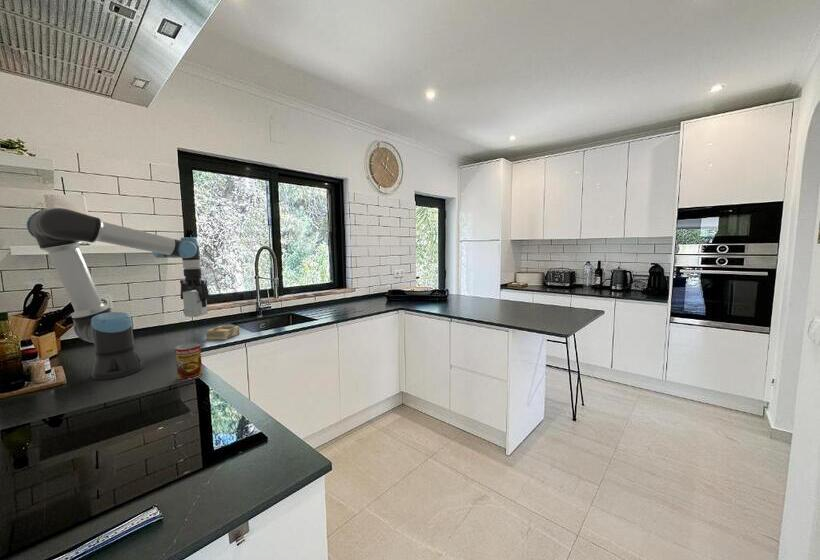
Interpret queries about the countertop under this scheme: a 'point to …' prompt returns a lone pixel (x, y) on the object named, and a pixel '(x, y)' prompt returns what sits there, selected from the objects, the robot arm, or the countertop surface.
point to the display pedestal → (222, 332)
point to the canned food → (188, 360)
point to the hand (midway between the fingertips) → (196, 313)
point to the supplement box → (192, 304)
